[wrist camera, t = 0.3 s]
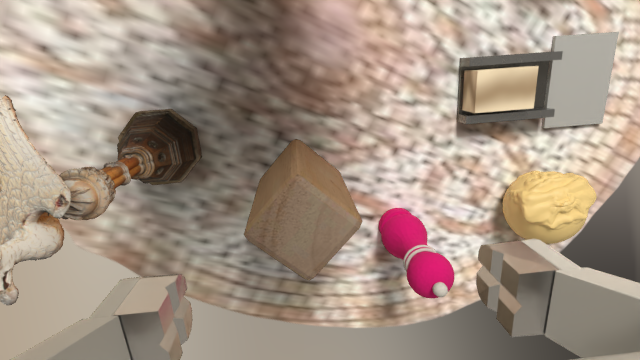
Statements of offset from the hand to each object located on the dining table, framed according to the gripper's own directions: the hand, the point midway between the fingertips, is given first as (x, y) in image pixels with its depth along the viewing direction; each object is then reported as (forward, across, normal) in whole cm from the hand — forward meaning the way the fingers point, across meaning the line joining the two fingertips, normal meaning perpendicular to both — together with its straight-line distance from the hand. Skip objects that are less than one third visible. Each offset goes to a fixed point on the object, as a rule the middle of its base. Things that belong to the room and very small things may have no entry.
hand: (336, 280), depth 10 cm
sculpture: (+47, -38, +18) cm, 63 cm away
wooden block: (+47, +1, +11) cm, 48 cm away
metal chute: (+46, -32, -1) cm, 56 cm away
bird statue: (+47, +24, +4) cm, 53 cm away
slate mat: (+46, -44, -1) cm, 64 cm away
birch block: (+46, -30, -1) cm, 55 cm away
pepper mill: (+47, -15, +21) cm, 53 cm away
